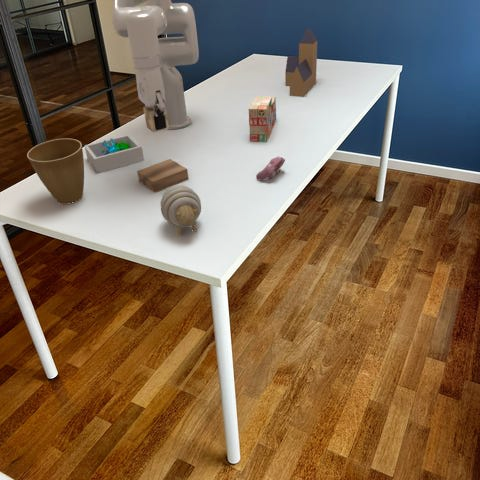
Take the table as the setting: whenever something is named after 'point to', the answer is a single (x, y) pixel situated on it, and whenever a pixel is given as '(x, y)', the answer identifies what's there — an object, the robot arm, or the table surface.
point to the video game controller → (271, 168)
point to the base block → (162, 175)
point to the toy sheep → (180, 207)
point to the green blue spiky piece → (115, 147)
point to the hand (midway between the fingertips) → (157, 125)
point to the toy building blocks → (302, 66)
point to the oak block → (150, 118)
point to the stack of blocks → (262, 118)
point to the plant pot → (60, 168)
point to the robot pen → (113, 154)
